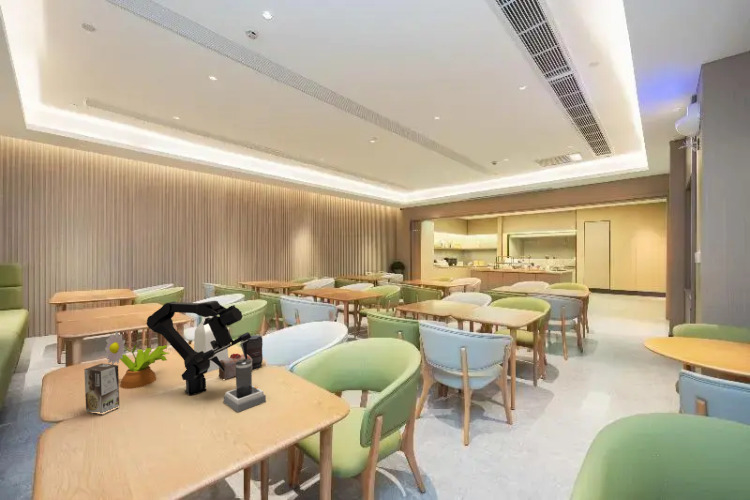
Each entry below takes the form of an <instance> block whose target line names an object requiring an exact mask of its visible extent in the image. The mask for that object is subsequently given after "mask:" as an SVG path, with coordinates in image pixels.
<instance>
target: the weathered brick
mask: <svg viewBox="0 0 750 500" xmlns="http://www.w3.org/2000/svg"><path fill="white" fill-rule="evenodd" d="M247 359H249V360H251V362H252V358H251V357H250V356H249V355H248V354H247ZM239 360H245V357H244V354H243V353H242V354H239V353H231V355H230V357H228V358H226V359H222V360H220V363H221V364H222V366H223V368H224V370H225V372H223V371H222V370H221V368H220V367H219V369H218V378H220V379H222V380H223V379H226V380H228V379H227V378H229V379H232V378H234V376H235V378H236V365H235V364H236V362H237V361H239ZM251 366H252V365H251ZM231 377H232V378H231Z"/></svg>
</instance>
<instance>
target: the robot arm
mask: <svg viewBox="0 0 750 500" xmlns="http://www.w3.org/2000/svg"><path fill="white" fill-rule="evenodd" d="M175 313H182V314H183V313H184V314H185V313H186V314H195V315H197V316H199V317H202V318H203V317H208V318H205V321H204V323H203V325H206V324H209V326H210V329H211V331H212V333H213V335H214V338H215V340H216V341H215V340H213V341H211V342H210V343H211V346H212V348H213V349H215V350H213V349H212V350H209V351H207V352H205V353H204V352H203V351H201V352H199V353H198V352H196V351H194V347H192V346H191V345H190V344H189V343H188V341H186V339H185V338H184V337H183V336H182V335H181V334H180V333H179V332H178V330H177V329H176V328H175V327H174V322H173V321H174V320H173V319H172V318H174V316H175ZM209 316H212V318H209ZM242 319H243V313H242V311H241V310H240V309H239V308H238V307H236V305H235V304H232V305H230V306H228V308H226V307H225V306H224V305H221V303H220V302H219V301H218V300H210V301H204V302H183V301H182V302H181V301H180V302H179V301H170V302H166V303H164V304H163V305H162V306H161V307H160V308H158V310H156V311H154V312H153V313H152V314H151V315H149V316H148V317H147V319H146V326H147V328H148V329H150V331H152V332H154V333H155V334H158V335H161V336H162V337H163V338H164V340H166V341H167V342H168V343H169V345H170V346H171V347H172V348H173V349H174V351H176V352H177V354H178V355H179V356H180V357H181V358H182V359H183V361H184V362H183V363H184V368H185V371H184V372H183V373H182V374H180V376H181V378H182V380H183V381H185V390H184V392H185V394H187V395H188V396H194V395H197V394H200V393H202V392H203V391H204V392H207V381H206V380H207V378H206V377H205V375H206V374H207V373H208V372H207V370H208V369H209V367H210V360H211V361H213V362H214V363H215V364H217V365H218V366H219V367H220V368H221V370H222V371H223V372H225V370H224V368H223V366H222V364H221V363H220V361H219V359H218V358H217V356H215V354H216V353H219V352H221V351H223V350H225V349H227V348H228V349H229V348H230V347H232V346H235V345H237V344H238V343H240V344H239V346H240V347H241V350H242V354H244V357H245V359H247V342H248V341H249V340H248V339H250V338H252V337H251V336H252V335H251V333H250V332H248V331H247V332H245V333H242V334H240V335H239V336H237V338H235V339H233V337H232V335H231V333H230V330H229V328H228V327H230V326H232V325H233V324H235V323H238V322H240V321H242ZM216 348H217V349H216Z"/></svg>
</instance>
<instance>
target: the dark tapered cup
mask: <svg viewBox="0 0 750 500" xmlns="http://www.w3.org/2000/svg"><path fill="white" fill-rule="evenodd" d="M235 365H236V377H235V386H236V388H235V389H236V396H237V398H238V399H240V398H243V397H245V396H248V395H251V394H252V385H253V377H252V376H253V374H252V371H253V369H252V366H251V365H252V362H251V360H249V359H245V360H239V361H237V362H236V364H235Z"/></svg>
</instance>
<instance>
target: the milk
mask: <svg viewBox="0 0 750 500" xmlns="http://www.w3.org/2000/svg"><path fill="white" fill-rule="evenodd" d="M205 318H208V317H203V316H202V318H201V319H202V320H201V322H200V323H199V324H198V326H196V328H195V330H194V336H193V337H194V338H193V339H194V344H193V350H194V351H196V352H198V353H199V352H201V351H203V352H204V353H205V352H207V351H209V350H212V349H213V348H212V346H211V343H210V342H211V341H213V340H215V338H214V335H213V333H212V331H211V329H210V326H209V324H206V325H203V323H204V321H205ZM209 318H212V316H209ZM215 341H216V340H215ZM216 349H217V348H216ZM228 349H229V348H227V349H225V350H223V351H221V352H219V353H216V354H215V356H217V358H218V359H219V361H220V360H222V359H226V358H229V350H228ZM213 350H215V349H213ZM216 370H219V366H218V365H217V364H215V363H214V362H213V361H211V360H210V367H209V369H208V370H207V373H210V372H213V371H216Z"/></svg>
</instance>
